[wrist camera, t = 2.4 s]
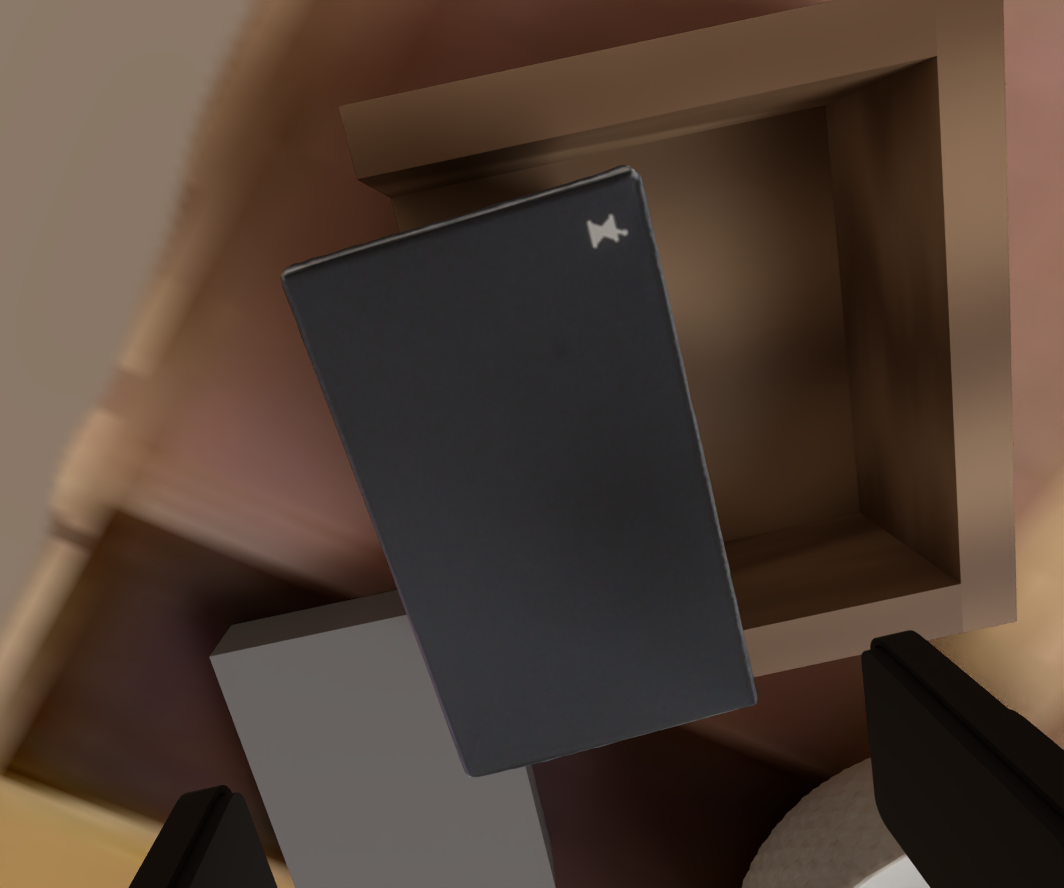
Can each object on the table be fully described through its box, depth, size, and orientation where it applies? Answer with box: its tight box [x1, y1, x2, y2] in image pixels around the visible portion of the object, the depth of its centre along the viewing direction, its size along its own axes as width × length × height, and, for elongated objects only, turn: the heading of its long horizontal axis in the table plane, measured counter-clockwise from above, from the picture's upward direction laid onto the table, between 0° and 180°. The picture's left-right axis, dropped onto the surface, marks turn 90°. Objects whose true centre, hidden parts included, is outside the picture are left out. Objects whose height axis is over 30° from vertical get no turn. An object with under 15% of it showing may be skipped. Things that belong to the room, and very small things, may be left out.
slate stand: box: [209, 590, 556, 888], centre depth 25 cm, size 12×9×2 cm
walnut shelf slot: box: [338, 0, 1017, 677], centre depth 20 cm, size 16×14×6 cm
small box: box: [281, 165, 758, 778], centre depth 17 cm, size 11×6×10 cm, turn 16°
